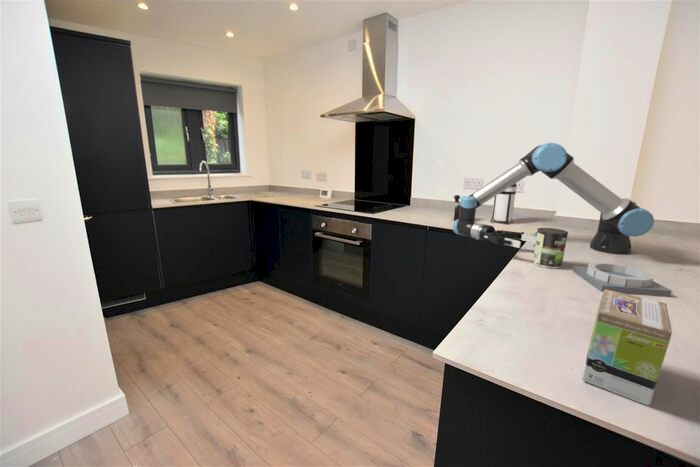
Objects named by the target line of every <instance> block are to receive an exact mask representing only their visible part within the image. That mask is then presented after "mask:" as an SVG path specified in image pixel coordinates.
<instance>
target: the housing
mask: <svg viewBox="0 0 700 467" xmlns="http://www.w3.org/2000/svg"><path fill="white" fill-rule="evenodd" d="M572 267H573V268H572V272H573V273H575V274H576V275H577V276H579V277H580V278H581V279H583V280H584V281H585V282H587V283H588V284H590V285H591V286H593V287H594V288H596V289H597V290H598V291H600V292H602V293H603V292H604V290H605V289H607V290H611V291H616V292H620V293H624V294H629V295H641V296H642V295H643V296H652V297H653V296H654V297H655V296H656V297H668V298H669V297H671V294H672V290H671V289H669V288H667V287H665V286H663V285H661V284H660V283H657V282H655V281H654V275H653V274H652V273H650V272H648V271H646V270H643V269H641V268H638V267H634V266H630V265H626V264H625V265H624V264H620V263H616V262H615V263H614V262H613V263H612V262H604V261H603V262H602V261H599V262H597V261H596V262H590V263H588V265H587V266H576V265H574V266H572Z"/></svg>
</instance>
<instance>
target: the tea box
mask: <svg viewBox="0 0 700 467" xmlns="http://www.w3.org/2000/svg"><path fill="white" fill-rule="evenodd" d="M672 334H673V331H672V324H671V318H670V316H669V311H668V306H667V303H666V302H663V301H659V300H655V299H651V298H646V297H643V296H642V297H641V296H637V295H634V294H627V293H620V292H616V291H611V290H607V289H605V290H604V292H602V296H601V298H600V302H599V304H598V308H597V312H596V317H595V319H594V323H593V328H592V332H591V336H590V340H589V341H590V342H589V345H588V349H587V355H586V359H585V362H584V363H585V364H584V369H583V375H582V379H581V380H582V381H584V382H585V383H589V384H591V385H594V386H596V387H597V388H598V387H599V388H601V389H603V390H605V391H607V392H608V391H609V392H610V393H614V394H615V395H618V396H622V397H623V398H626V399H630V400H631V401H635V402H636V403H638V404H639V403H640V404H642V405H645V406H649V405H650V404H651V403H652V400H653V396H654V393H655V389H656V386H657V383H658V380H659V376H660V373H661V370H662V367H663V364H664V361H665V357H666V354H667V351H668V348H669V344H670V341H671V339H672Z"/></svg>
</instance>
